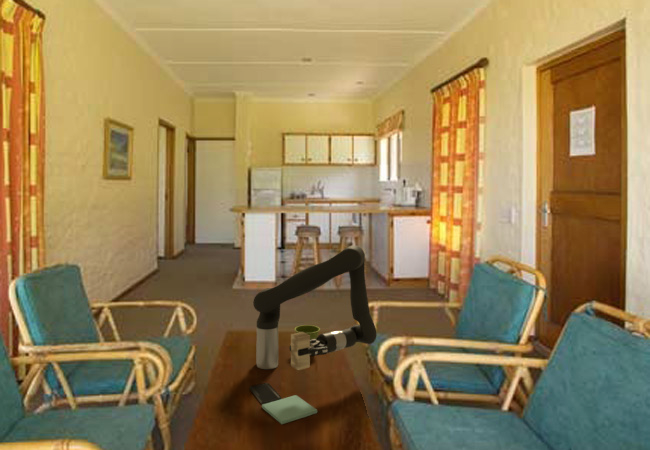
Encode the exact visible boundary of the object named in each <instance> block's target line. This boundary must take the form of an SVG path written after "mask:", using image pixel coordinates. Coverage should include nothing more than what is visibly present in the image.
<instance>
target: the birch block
mask: <svg viewBox="0 0 650 450" xmlns="http://www.w3.org/2000/svg"><path fill="white" fill-rule="evenodd" d="M290 345H291V351H290V366H291V367H292V368H293V369H295V370H297V371H301V370H305V369H308V368H310V367H311V363H310V362H311V357H310V356H311V355H308V354H306V355H302V356H298V350H299V349H303V348H307V349H308V347H310V335H308V334H306V333H304V332H299V333H296V332H294V333H290Z"/></svg>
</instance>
